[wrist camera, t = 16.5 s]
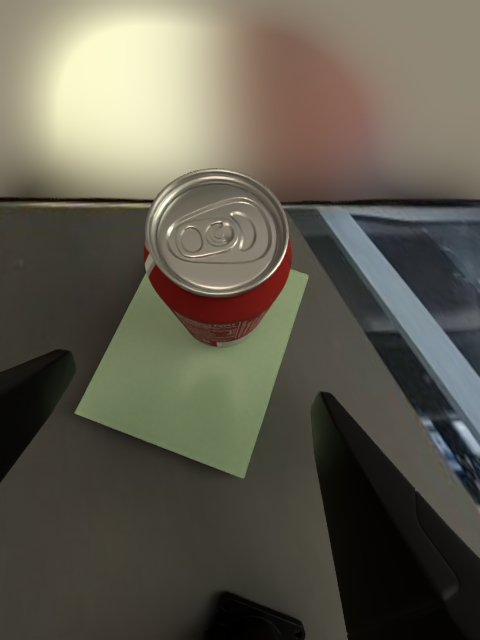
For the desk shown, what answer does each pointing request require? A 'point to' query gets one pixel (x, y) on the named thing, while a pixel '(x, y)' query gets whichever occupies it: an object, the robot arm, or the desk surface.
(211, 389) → the board
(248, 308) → the soda can
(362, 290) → the desk surface
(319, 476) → the robot arm
